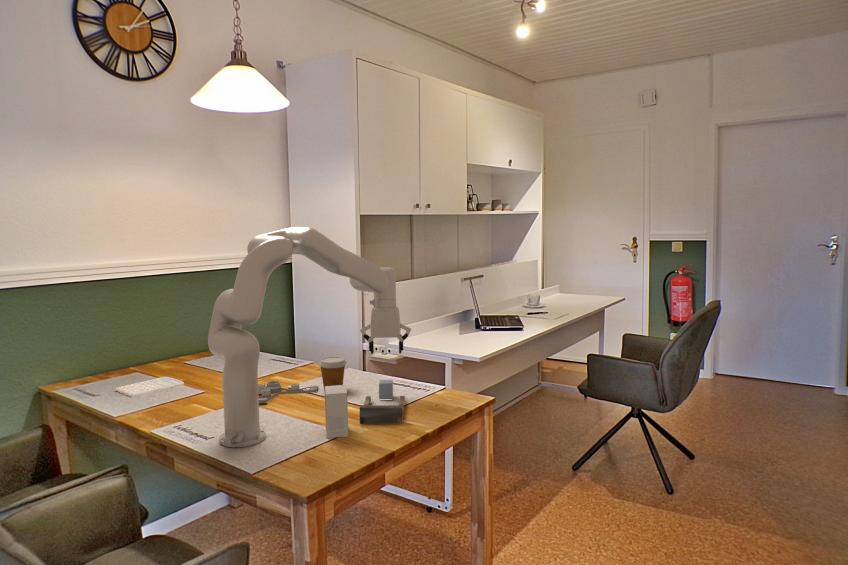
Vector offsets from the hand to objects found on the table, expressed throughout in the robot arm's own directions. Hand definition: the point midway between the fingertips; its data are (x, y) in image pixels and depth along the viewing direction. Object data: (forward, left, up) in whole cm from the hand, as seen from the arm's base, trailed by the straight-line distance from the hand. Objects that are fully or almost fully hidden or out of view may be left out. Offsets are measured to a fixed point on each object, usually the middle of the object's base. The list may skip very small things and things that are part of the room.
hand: (386, 352), depth 200 cm
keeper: (0, 0, -16) cm, 16 cm away
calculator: (+14, +89, -17) cm, 91 cm away
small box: (-32, +13, -16) cm, 38 cm away
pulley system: (+6, +39, -17) cm, 42 cm away
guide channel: (-14, 0, -16) cm, 21 cm away
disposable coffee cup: (+7, +20, -16) cm, 27 cm away
